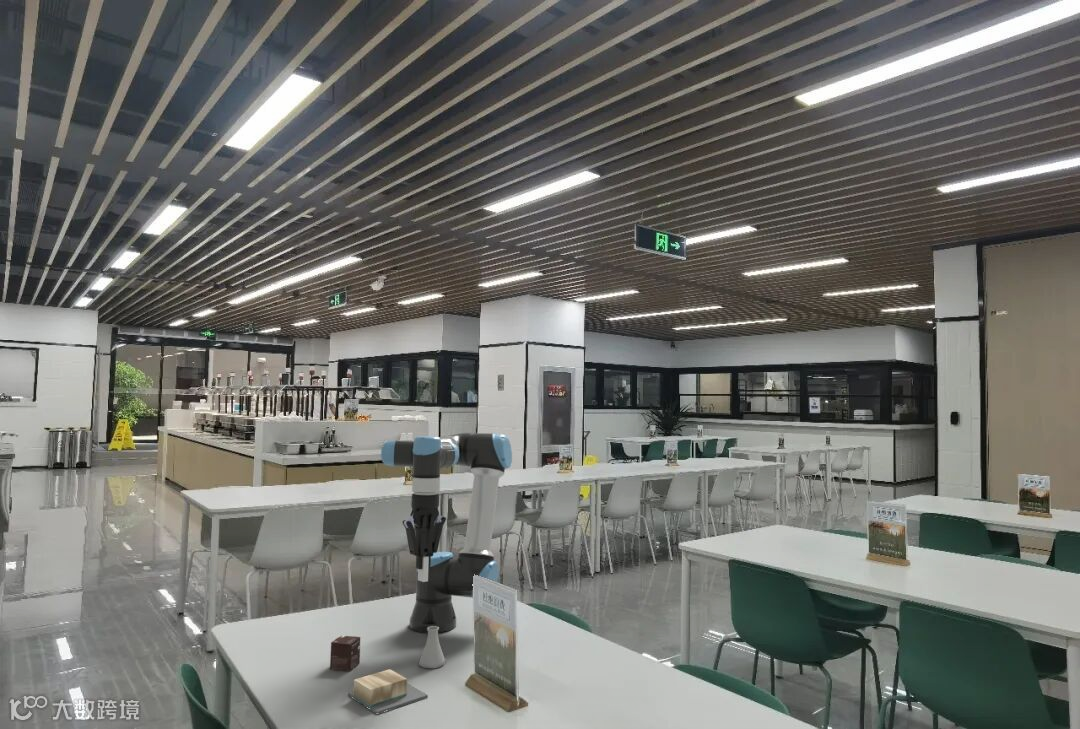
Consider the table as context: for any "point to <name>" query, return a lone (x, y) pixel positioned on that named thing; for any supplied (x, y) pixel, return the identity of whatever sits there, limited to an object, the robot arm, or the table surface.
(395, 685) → the slab
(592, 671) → the table surface
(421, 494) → the robot arm
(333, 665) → the box
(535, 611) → the table surface
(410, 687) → the mat
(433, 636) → the flask
